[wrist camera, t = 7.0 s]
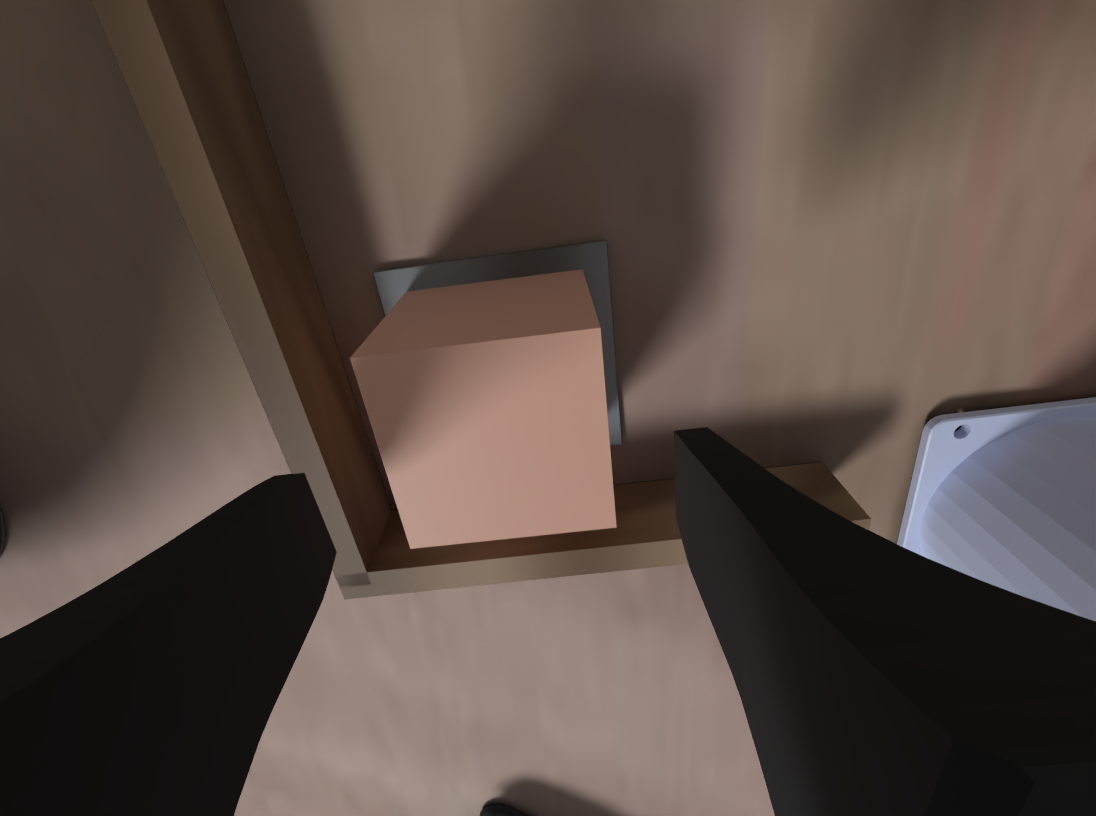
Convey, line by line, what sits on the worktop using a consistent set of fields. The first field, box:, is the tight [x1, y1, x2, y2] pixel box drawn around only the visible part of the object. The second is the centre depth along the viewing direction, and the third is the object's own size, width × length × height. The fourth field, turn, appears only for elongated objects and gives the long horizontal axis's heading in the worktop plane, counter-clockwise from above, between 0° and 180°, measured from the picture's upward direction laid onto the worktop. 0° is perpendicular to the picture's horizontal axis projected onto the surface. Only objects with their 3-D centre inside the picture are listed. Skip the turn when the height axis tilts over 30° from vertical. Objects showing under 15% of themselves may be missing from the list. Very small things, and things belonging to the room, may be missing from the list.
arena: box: [91, 0, 871, 599], centre depth 13 cm, size 16×18×3 cm
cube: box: [350, 269, 617, 549], centre depth 14 cm, size 5×5×5 cm
